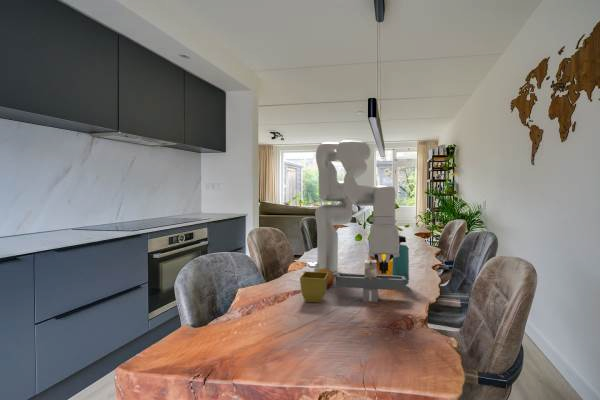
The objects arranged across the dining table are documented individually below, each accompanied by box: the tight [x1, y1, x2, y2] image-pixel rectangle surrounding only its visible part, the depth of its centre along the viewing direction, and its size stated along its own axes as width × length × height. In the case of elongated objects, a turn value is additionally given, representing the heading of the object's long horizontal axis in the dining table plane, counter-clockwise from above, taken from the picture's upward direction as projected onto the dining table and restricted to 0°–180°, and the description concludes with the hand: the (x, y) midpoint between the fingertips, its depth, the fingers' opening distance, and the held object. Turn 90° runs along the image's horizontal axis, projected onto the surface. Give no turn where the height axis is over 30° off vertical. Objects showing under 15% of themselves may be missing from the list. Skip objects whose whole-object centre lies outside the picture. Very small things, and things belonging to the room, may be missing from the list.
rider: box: [364, 259, 378, 278], centre depth 123 cm, size 4×6×7 cm
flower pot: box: [299, 271, 328, 304], centre depth 120 cm, size 9×9×9 cm
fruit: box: [316, 269, 335, 288], centre depth 138 cm, size 8×8×8 cm
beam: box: [335, 272, 407, 303], centre depth 123 cm, size 24×9×8 cm, turn 79°
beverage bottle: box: [391, 235, 410, 286], centre depth 137 cm, size 6×7×20 cm
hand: (383, 272), depth 122 cm, fingers closed
